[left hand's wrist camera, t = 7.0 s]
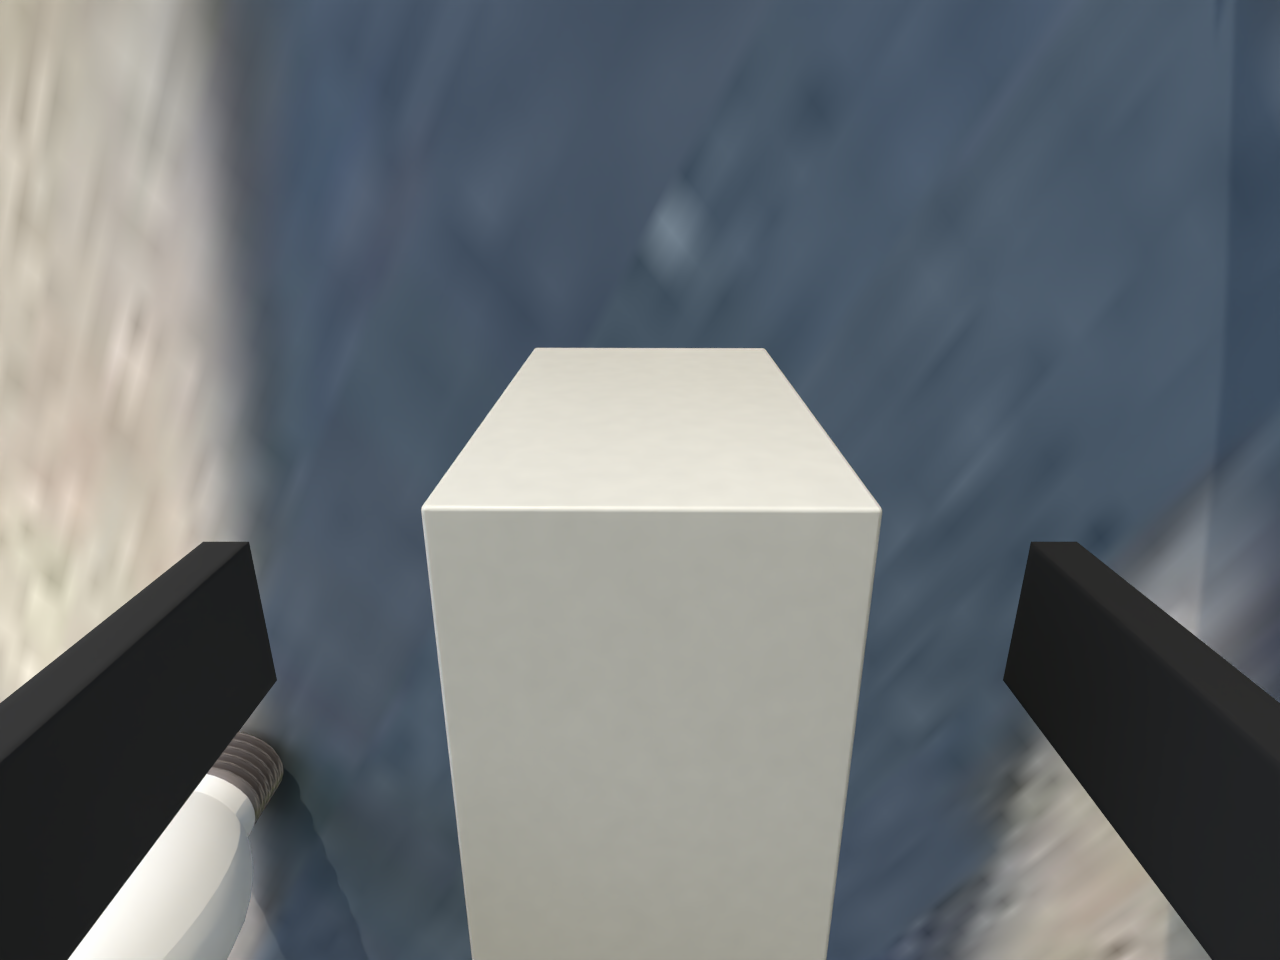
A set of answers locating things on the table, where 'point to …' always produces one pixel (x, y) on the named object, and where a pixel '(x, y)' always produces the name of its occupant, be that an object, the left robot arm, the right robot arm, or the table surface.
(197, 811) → the light bulb
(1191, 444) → the table surface
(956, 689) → the table surface
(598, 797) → the bar
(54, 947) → the left robot arm
